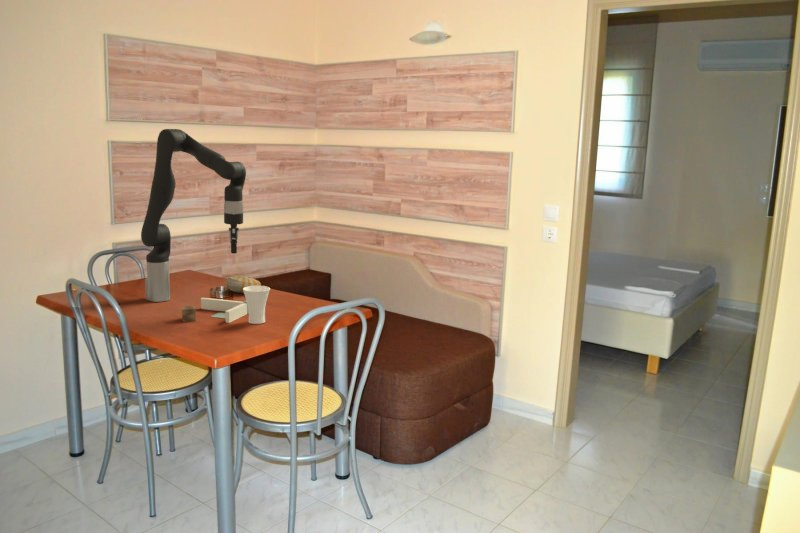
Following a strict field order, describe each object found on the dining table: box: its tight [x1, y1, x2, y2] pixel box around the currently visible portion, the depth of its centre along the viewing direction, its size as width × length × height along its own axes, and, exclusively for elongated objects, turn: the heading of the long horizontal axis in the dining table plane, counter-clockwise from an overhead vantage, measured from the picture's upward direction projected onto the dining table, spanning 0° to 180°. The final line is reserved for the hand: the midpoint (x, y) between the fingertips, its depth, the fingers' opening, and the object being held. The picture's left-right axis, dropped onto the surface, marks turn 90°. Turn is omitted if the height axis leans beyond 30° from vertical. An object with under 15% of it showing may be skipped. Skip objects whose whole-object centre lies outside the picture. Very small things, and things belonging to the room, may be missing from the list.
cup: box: [243, 285, 271, 325], centre depth 259 cm, size 10×10×14 cm
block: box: [181, 305, 197, 323], centre depth 261 cm, size 5×5×5 cm
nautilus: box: [225, 274, 262, 294], centre depth 310 cm, size 8×22×15 cm
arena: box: [200, 297, 249, 324], centre depth 268 cm, size 22×16×5 cm
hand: (233, 251), depth 270 cm, fingers open, 8 cm apart
